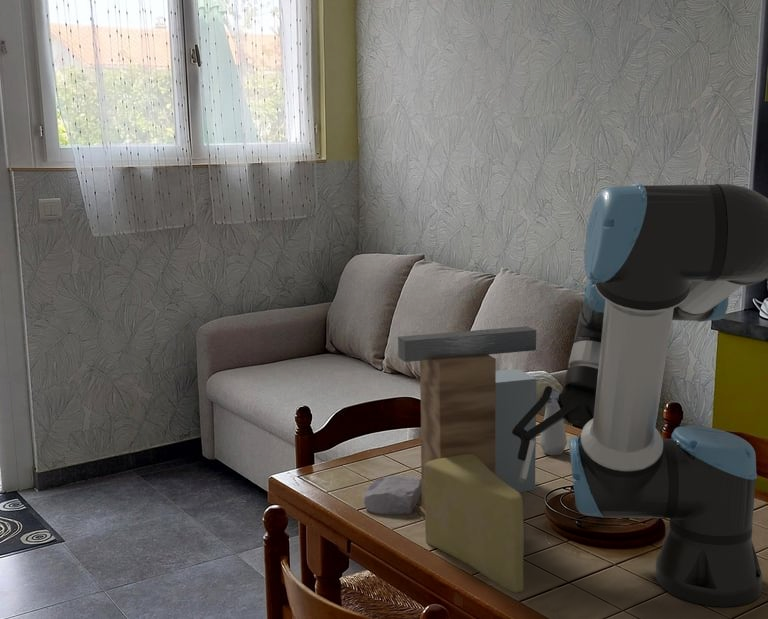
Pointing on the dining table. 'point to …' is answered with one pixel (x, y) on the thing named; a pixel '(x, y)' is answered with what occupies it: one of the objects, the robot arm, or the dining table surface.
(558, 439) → the salt shaker
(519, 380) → the grey-blue block
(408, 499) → the stone block
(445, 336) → the steel bar
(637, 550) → the dining table surface
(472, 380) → the walnut stand
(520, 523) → the cheese
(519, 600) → the dining table surface
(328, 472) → the dining table surface
